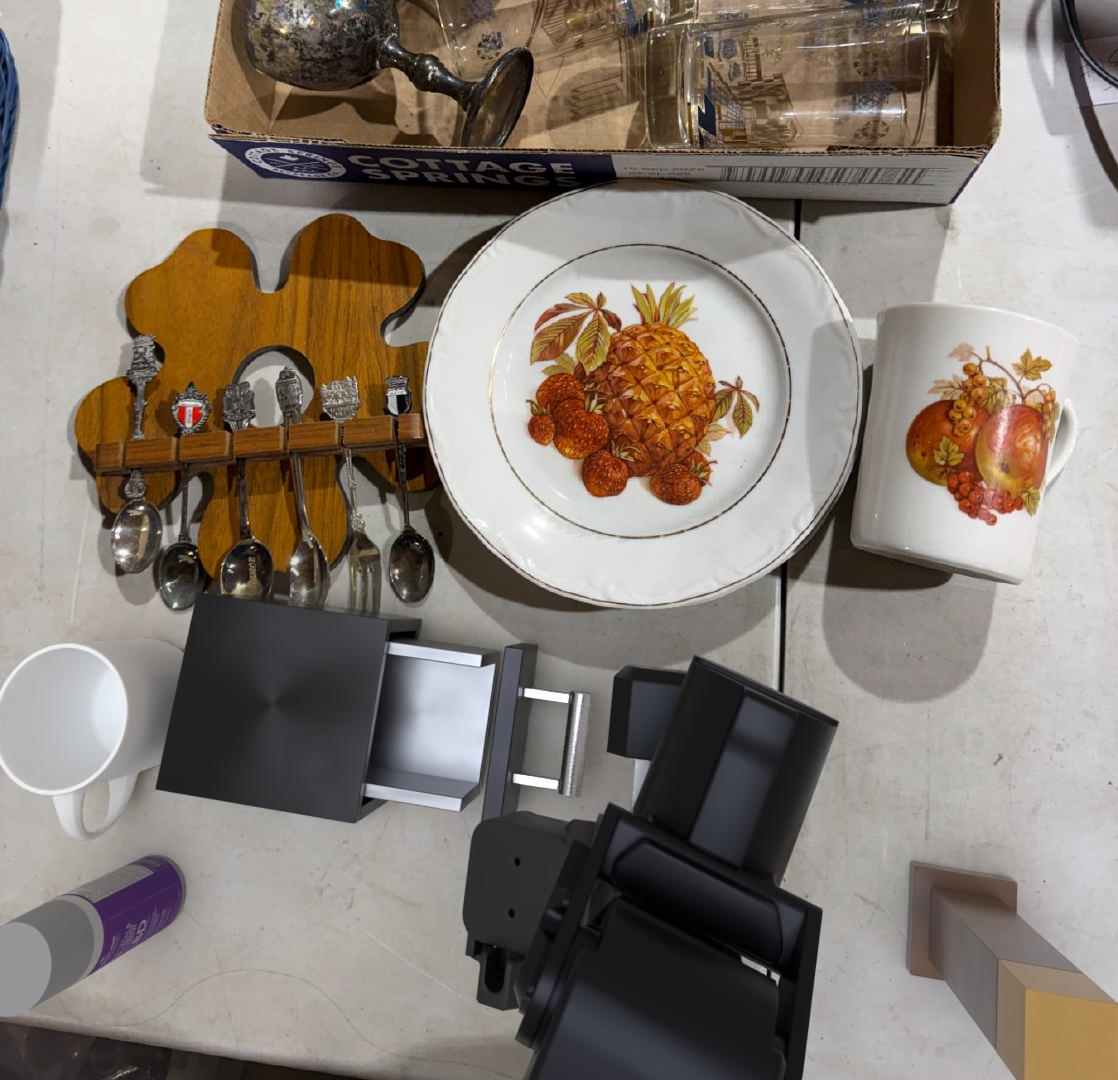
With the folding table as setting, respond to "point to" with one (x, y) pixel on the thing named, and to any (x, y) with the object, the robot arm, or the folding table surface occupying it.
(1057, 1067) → the block
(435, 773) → the drawer with silver handle
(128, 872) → the container
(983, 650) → the folding table surface
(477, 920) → the robot arm
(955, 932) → the stand
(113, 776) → the mug
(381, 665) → the black drawer box
